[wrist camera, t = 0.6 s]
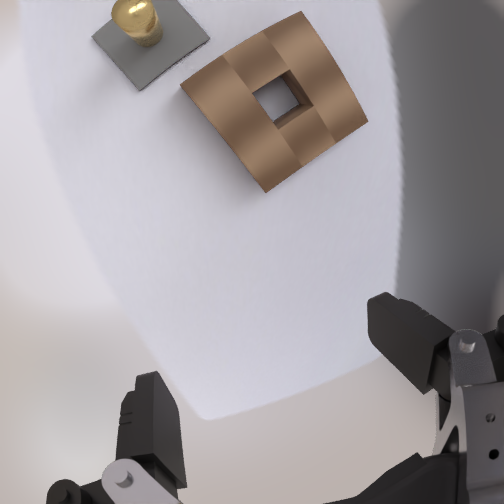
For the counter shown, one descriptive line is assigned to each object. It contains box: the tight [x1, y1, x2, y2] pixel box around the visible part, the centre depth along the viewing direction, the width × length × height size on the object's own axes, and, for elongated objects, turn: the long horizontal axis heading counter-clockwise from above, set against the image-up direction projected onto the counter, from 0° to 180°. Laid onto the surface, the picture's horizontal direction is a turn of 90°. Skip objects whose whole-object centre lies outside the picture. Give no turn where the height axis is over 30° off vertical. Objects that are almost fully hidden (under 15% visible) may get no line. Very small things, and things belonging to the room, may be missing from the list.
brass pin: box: [111, 0, 163, 47], centre depth 18 cm, size 3×3×10 cm
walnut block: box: [180, 11, 368, 193], centre depth 27 cm, size 14×14×4 cm
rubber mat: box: [91, 0, 210, 91], centre depth 22 cm, size 9×9×1 cm
